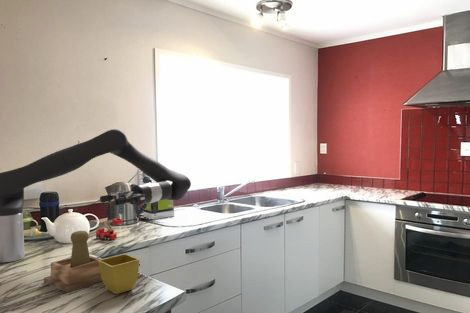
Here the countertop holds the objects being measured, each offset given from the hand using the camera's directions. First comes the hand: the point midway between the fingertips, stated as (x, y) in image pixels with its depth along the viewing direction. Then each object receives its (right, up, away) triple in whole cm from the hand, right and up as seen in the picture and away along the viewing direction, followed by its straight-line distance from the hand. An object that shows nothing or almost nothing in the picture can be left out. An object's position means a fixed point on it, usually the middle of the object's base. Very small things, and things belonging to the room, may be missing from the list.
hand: (107, 200), depth 124 cm
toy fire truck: (-14, -23, +43) cm, 51 cm away
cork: (-5, -20, -9) cm, 22 cm away
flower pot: (+9, -24, -17) cm, 31 cm away
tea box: (-2, -21, +93) cm, 96 cm away
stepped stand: (-7, -24, -9) cm, 26 cm away
